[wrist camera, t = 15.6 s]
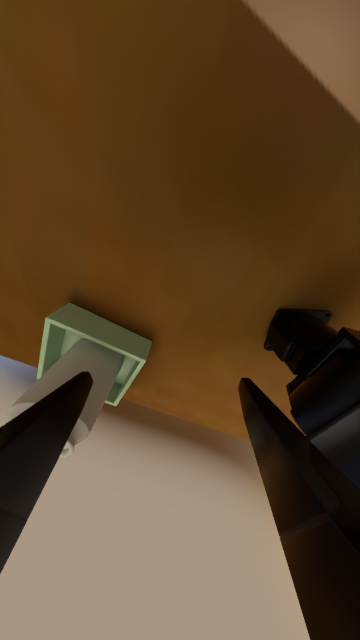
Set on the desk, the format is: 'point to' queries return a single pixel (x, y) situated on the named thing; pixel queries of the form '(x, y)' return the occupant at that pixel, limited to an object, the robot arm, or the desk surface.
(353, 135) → the desk surface
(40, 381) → the can
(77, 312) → the tray
